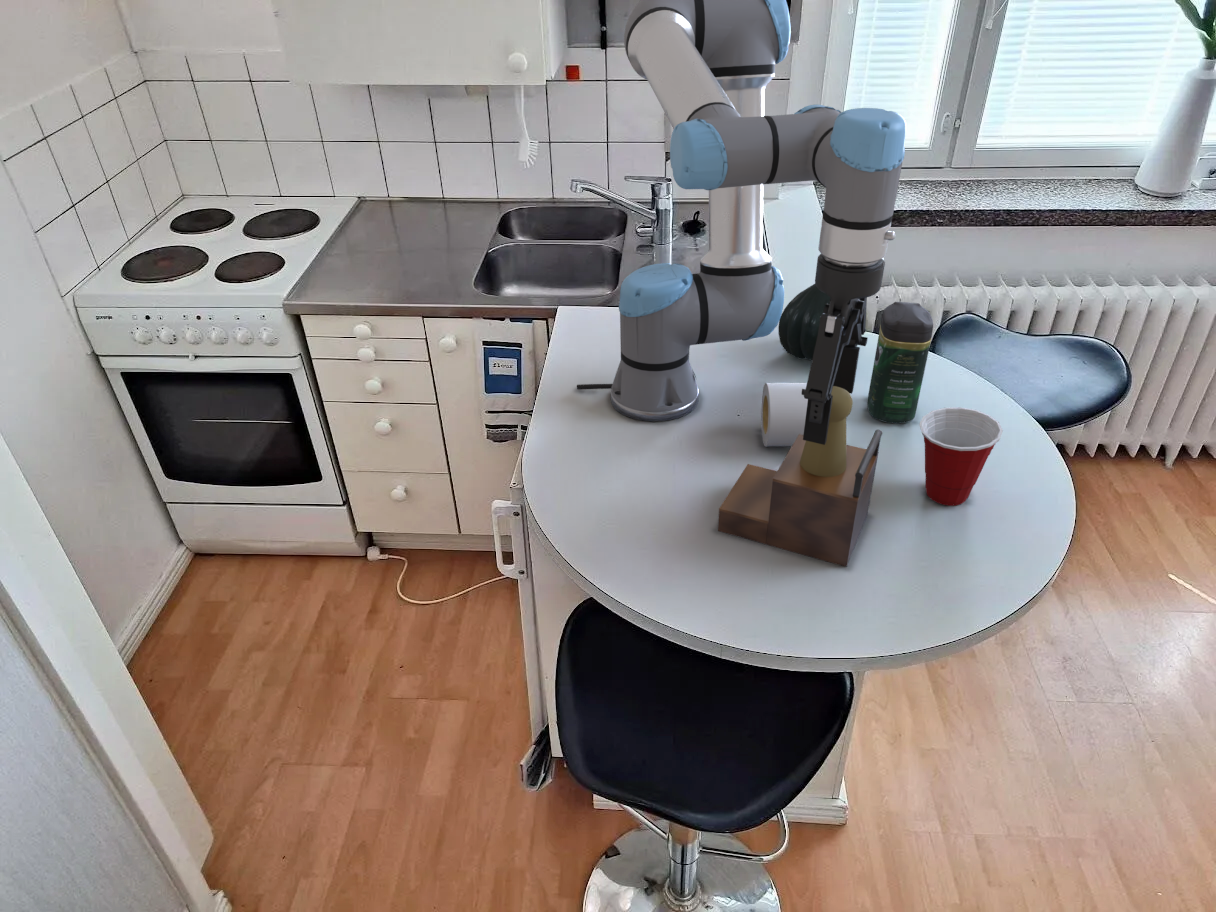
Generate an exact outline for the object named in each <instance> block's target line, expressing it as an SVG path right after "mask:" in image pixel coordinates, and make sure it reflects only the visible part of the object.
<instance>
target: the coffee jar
mask: <svg viewBox="0 0 1216 912" xmlns="http://www.w3.org/2000/svg"><path fill="white" fill-rule="evenodd" d="M933 320H934V319H933V317H932V315H931V313H930V312H929V310H927V309H926V308H925V307H923V306H922V305H921V304H920V303H917V302H909V301H894V302H893V303H891V304H888V306H886V307H885V308H884V309H883V311H882V313H881V318H880V324H879V331H878V338H877V343H876V349H875V355H874V360H873V366H872V372H871V377H870V383H869V389H868V394H867V402H866V403H867V404H866V405H867V410H868V413H869V415H870V416H871V417H872V418H873V419H875V420H878V421H881V422H884V423H887V424H903V423H909V422H912V421H913V420H914V419H915V417H916V413H917V409H918V404H919V399H920V394H921V388H922V385H923V380H924V376H925V370H926V365H927V361H928V357H929V351H930V346H931V343H932V337H933V330H934V321H933Z"/></svg>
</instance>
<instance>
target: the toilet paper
mask: <svg viewBox="0 0 1216 912" xmlns="http://www.w3.org/2000/svg"><path fill="white" fill-rule="evenodd" d="M806 385H807V382H765V383H764V385H763V387H762V394H761V404H760V425H761V428H760V429H761V437H762V443H763V445H764V447H792V445H793V443H794V442H795V440H796V438H797V437H798V435H799V434H801V435H804V427H805V419H806V411H807V403H808V399H805V398H804V395H802V389H806Z"/></svg>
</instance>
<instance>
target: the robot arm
mask: <svg viewBox="0 0 1216 912" xmlns="http://www.w3.org/2000/svg"><path fill="white" fill-rule="evenodd" d="M790 43H791V18H790V11H789V6H788V2H787V0H638V1H637V3H636V5H635V6H634V7H633V9H632V10H631V12H630V14H629V16H628V18H627V21H626V24H625V27H624V34H623V45H624V51H625V55H626V57H627V59H628V61H629V63H630V65H631V67H632V69H633V70H634V72H635V73H636V74H637V75H638V76H639V77H641V78H643V79H644V80H646V81H647V82H648V83H649V85H650V87H651V90H652V91H653V93H654V95H655V97H656V99H657V100H658V102H659V104H660V106H661V108H662V110H663V113H664V114H665V116H666V118H667V119H668V122H669V123H670V125H671V127H672V129H673V130H672V132H671V137H670V142H669V143H670V144H669V160H670V167H671V170H672V177H673V181H674V182H675V184H676V185H677V186H678V187H679V188H681V189H683V190H705V191H708V250H707V252H706V253H705V254H704V255H703V256H702V257H701V258H700V260H699V272H698V273H697V272H696V273H692V271H691V269H690V268H689V267H688V266H686V265H684V264H680V263H670V262H660V263H654V264H650V265H645V266H642V267H640V268H637V269H635V270H634V271H632V272H631V273H629V274H628V275H627V276H626V277H625V278H624V280H623V281H622V282H621V284H620V291H619V303H618V311H619V330H620V331H619V332H620V334H619V337H620V341H619V342H620V361H619V364H618V367H617V370H616V373H615V375H614V378H613V381H612V383H587V384H586V383H583V384H581V383H580V384H576V390H610V403H611V405H612V406H613V408H614V409H615V410H616V411H617V412H618V413H620V414H621V415H624V416H626V417H628V418H631V419H635V420H638V421H644V422H645V421H646V422H664V421H671V420H676V419H679V418H682V417H684V416H686V415H688V414H690V413H691V412H692V411H694V410H695V409H696V408H697V406H698V404H699V393H700V392H699V387H698V383H697V377H696V376H697V375H696V374H695V372H694V369H693V367H692V365H691V362H690V348H691V346H695V345H707V344H715V343H725V342H733V341H743V342H745V341H749V340H753V339H758V338H764V337H768V336H769V335H770V334H771V333H773V332H774V331H775V329H776V328H777V326H779V320H780V317H781V315H782V313H783V311H784V303H785V286H784V285H783V283H784V278H783V274H782V272H781V270H780V269H779V268H777V267H776V266H774V265H772V257H771V256H770V254H768V252H767V251H766V250H764V248H763V228H764V227H763V221H764V219H763V217H764V216H763V215H764V214H763V213H764V185H773V184H774V185H775V184H776V185H777V184H788V183H799V182H801V183H802V182H811V181H813V182H817V183H818V184H820V185H821V186H823V187H824V188H825V193H824V204H823V212H822V218H821V224H820V225H821V226H820V233H819V241H818V252H819V253H820V254H819V255H818V256H817V259H816V261H817V262H816V269H815V277H814V278H815V279H814V284H816V287H817V288H818V289H819V290H820V291H821V292H823V293H826V294H827V295H828V296H829V297H830V302H829V304H826V305H825V308H824V311H823V313H822V315H821V316H820V324H819V331H818V336H817V341H816V345H815V350H814V354H813V359H812V360H811V364H810V369H809V373H808V377H807V382H806V383H807V385H806V389H802V395H804V398H805V399H808V403H807V411H806V419H805V427H804V435H803V440H806V441H810V442H814V443H818V444H823V445H825V443H826V441H827V434H828V427H829V420H830V413H831V406H832V399H833V396H832V395H831V392H832V388H833V386H837V387H840V388H843V389H845V390H847V391H848V392H849V393H850V395H851V394H853V392H854V389H855V388H854V387H855V382H856V375H857V369H858V363H859V358H860V357H859V355H860V351H861V347H866V346H867V343H868V339H869V338H868V337H867V336H864V335H865V333H866V331H867V328H866V327H867V326H866V324H867V304H868V303H867V302H868V298H870V297H873V296H875V295H876V294H877V293H879V292H880V290H881V288H882V286H883V285H882V284H883V278H884V271H885V266H886V261H885V259H884V257H886V255H887V250H888V246H889V245H888V244H889V241H894V239H895V237H896V234H895V231H892V230H890V228H891V226H892V220H893V216H894V211H895V206H896V200H897V195H898V189H899V183H900V177H901V173H902V168H903V167H902V166H903V161H904V159H905V156H906V155H905V154H906V152H905V151H906V149H905V148H906V147H905V142H906V133H907V122H906V120H905V118H904V116H903V115H902V114H900V113H898V112H896V111H893V110H885V109H884V108H878V107H877V108H876V107H860V108H859V107H857V108H851V109H850V108H849V109H845V110H843V111H841V110H839V109H836V108H834V107H832V106H829V105H824V104H809V105H806V106H804V107H802V108H800V109H799V110H797V111H796V112H793V113H790V114H777V115H765V89H766V87H767V86H768V84H769V83H770V82H771V81H772V80H773V79H774V78H775V75H776V65H778V64H779V63H782V62H783V61H784V60H785V59H786V57H787V55H788V52H789V45H790ZM856 345H857V347H856ZM859 346H861V347H859Z"/></svg>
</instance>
